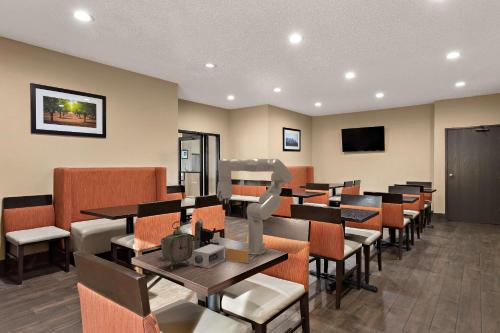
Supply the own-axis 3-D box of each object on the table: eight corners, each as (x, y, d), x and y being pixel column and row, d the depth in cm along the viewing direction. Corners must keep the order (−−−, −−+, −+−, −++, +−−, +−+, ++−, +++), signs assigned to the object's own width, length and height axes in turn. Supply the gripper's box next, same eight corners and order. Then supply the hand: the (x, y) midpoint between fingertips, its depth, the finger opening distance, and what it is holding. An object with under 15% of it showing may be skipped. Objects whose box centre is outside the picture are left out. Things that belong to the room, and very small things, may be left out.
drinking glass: (173, 261, 171) (173, 240, 171) (157, 260, 173) (157, 240, 173) (180, 256, 181) (180, 236, 181) (165, 255, 183) (165, 236, 183)
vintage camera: (217, 253, 189) (218, 222, 189) (193, 252, 189) (194, 221, 190) (219, 249, 199) (220, 219, 199) (196, 248, 199) (197, 218, 199)
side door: (224, 259, 172) (224, 248, 172) (226, 258, 174) (226, 247, 174) (247, 262, 167) (247, 251, 167) (249, 261, 169) (249, 250, 169)
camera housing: (210, 257, 179) (210, 244, 179) (225, 260, 174) (225, 246, 174) (191, 265, 164) (191, 251, 164) (207, 269, 158) (207, 254, 158)
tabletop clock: (170, 271, 155) (170, 224, 155) (161, 267, 161) (161, 222, 161) (192, 264, 166) (192, 220, 166) (183, 261, 172) (182, 218, 172)
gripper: (226, 179, 186) (226, 208, 186) (212, 180, 173) (212, 211, 173) (236, 179, 182) (236, 208, 182) (223, 180, 169) (223, 212, 169)
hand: (225, 209), depth 178 cm, fingers closed
